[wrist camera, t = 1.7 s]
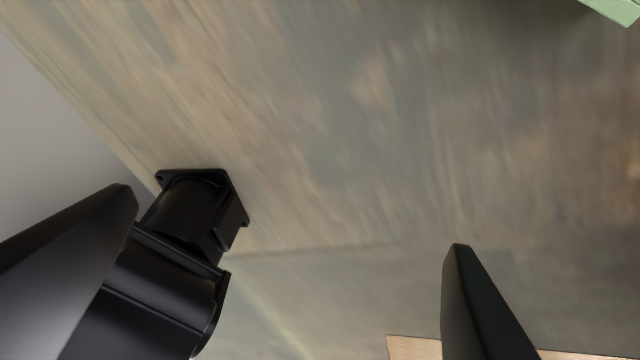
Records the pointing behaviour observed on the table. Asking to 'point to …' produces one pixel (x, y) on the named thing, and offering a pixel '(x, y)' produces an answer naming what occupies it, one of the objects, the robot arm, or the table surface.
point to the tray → (616, 9)
